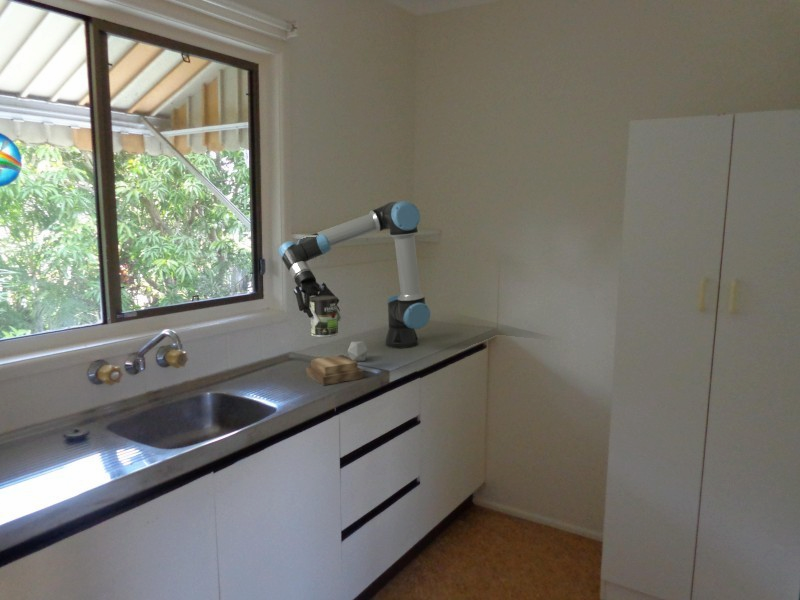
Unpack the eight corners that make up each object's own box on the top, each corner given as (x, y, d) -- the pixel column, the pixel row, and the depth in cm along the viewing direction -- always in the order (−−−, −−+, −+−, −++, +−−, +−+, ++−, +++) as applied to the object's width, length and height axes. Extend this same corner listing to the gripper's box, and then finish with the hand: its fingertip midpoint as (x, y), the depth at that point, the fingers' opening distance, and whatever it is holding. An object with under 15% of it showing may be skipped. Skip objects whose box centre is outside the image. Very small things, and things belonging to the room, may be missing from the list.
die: (360, 365, 236) (372, 345, 237) (341, 355, 237) (354, 334, 238) (361, 367, 244) (373, 347, 245) (343, 357, 245) (355, 337, 246)
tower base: (344, 368, 230) (344, 353, 229) (363, 378, 216) (363, 362, 215) (306, 375, 222) (305, 359, 221) (323, 385, 208) (322, 369, 207)
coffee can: (344, 333, 221) (342, 296, 219) (324, 338, 213) (322, 300, 211) (325, 330, 228) (323, 294, 225) (305, 334, 220) (303, 298, 217)
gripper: (322, 279, 236) (348, 322, 227) (274, 285, 220) (300, 332, 212) (330, 267, 231) (356, 310, 223) (281, 272, 216) (308, 319, 207)
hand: (329, 321), depth 217 cm, fingers closed on coffee can, 10 cm apart
